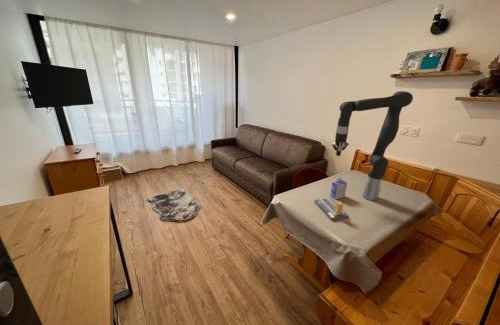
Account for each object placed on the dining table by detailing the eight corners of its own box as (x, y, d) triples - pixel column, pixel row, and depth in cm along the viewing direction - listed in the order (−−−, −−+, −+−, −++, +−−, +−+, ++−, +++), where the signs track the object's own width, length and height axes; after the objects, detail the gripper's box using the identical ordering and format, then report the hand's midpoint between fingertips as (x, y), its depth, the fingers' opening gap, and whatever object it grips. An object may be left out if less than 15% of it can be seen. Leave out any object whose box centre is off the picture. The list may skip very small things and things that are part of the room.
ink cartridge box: (339, 193, 156) (342, 176, 151) (345, 197, 152) (348, 179, 146) (329, 196, 153) (332, 179, 147) (335, 199, 148) (338, 182, 143)
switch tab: (338, 211, 130) (340, 201, 127) (341, 214, 128) (343, 203, 125) (333, 212, 130) (335, 201, 127) (336, 215, 127) (338, 204, 124)
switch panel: (329, 200, 147) (330, 196, 146) (348, 218, 128) (349, 213, 127) (314, 202, 145) (314, 198, 143) (331, 220, 126) (331, 215, 124)
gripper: (336, 134, 135) (332, 158, 141) (354, 133, 137) (349, 156, 144) (330, 131, 142) (326, 154, 148) (346, 130, 144) (342, 153, 151)
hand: (338, 155), depth 146 cm, fingers closed
